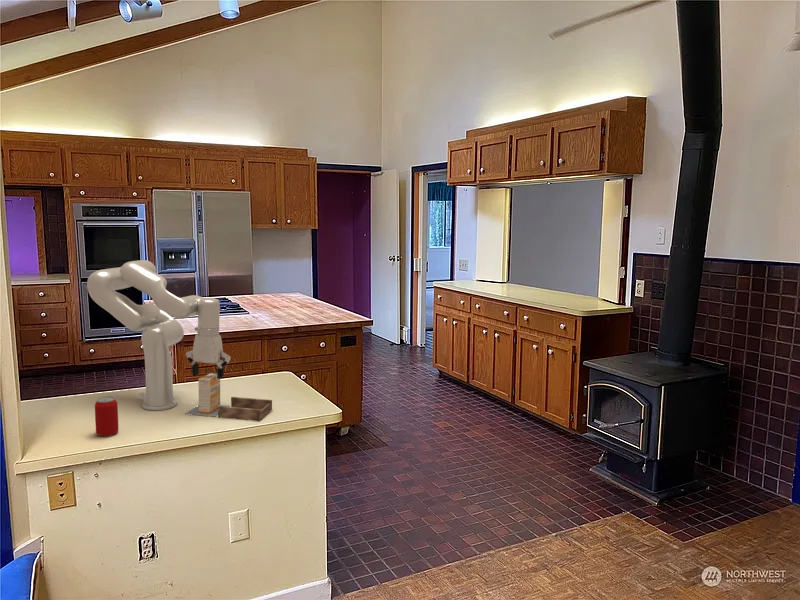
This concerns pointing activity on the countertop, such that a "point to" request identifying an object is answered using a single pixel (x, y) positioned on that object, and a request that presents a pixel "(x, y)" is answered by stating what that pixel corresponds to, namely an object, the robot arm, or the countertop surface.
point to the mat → (196, 412)
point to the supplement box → (209, 393)
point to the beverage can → (106, 416)
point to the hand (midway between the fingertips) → (207, 376)
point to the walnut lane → (246, 409)
